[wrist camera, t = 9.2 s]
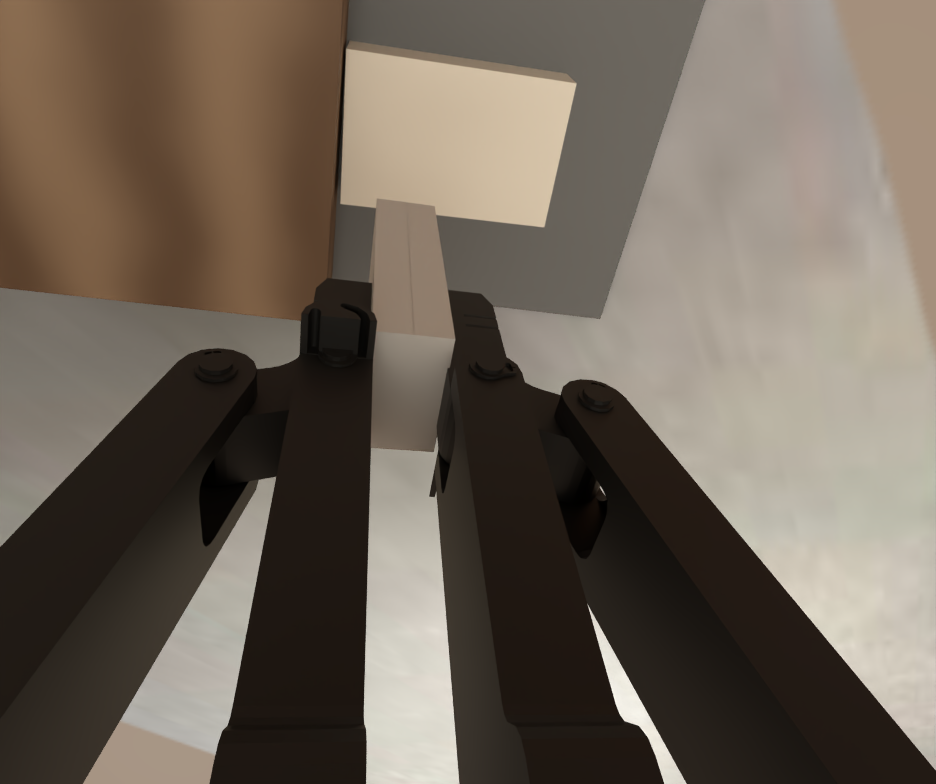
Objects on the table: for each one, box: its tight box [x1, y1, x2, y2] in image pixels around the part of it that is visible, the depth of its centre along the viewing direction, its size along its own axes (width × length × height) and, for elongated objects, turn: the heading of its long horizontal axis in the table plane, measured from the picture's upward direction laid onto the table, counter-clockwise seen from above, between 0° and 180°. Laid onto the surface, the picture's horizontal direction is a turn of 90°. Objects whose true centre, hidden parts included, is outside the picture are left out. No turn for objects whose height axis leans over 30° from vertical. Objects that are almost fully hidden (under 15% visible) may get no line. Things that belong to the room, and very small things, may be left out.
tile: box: [340, 41, 577, 227], centre depth 28 cm, size 9×6×2 cm, turn 82°
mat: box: [332, 0, 705, 319], centre depth 29 cm, size 14×16×1 cm
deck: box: [0, 0, 349, 321], centre depth 26 cm, size 14×16×4 cm
